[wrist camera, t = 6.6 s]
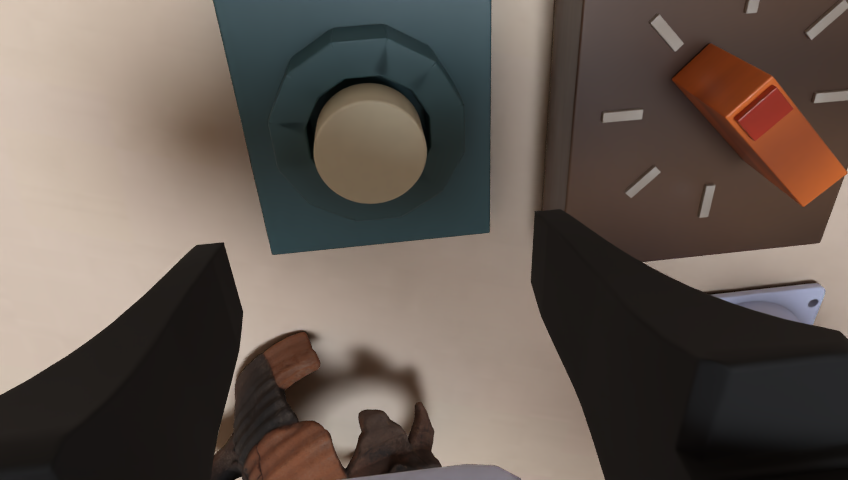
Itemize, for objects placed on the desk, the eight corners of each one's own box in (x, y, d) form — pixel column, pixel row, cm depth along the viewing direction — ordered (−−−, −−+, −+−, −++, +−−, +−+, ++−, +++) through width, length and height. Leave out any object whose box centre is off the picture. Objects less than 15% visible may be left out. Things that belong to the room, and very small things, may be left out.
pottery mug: (347, 284, 28) (436, 442, 24) (399, 348, 36) (473, 474, 32) (117, 429, 27) (167, 619, 23) (224, 461, 35) (276, 605, 31)
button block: (484, 218, 26) (498, 257, 24) (274, 239, 26) (266, 282, 23) (485, -64, 20) (504, -52, 18) (210, -44, 20) (190, -29, 17)
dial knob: (781, 129, 22) (854, 176, 19) (743, 161, 22) (808, 211, 19) (710, 42, 20) (778, 78, 17) (670, 79, 20) (729, 120, 17)
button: (424, 175, 22) (429, 199, 20) (324, 185, 21) (322, 210, 20) (418, 77, 20) (424, 95, 18) (308, 86, 20) (305, 106, 18)
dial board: (777, 207, 27) (823, 246, 25) (540, 232, 27) (561, 273, 24) (880, -127, 20) (960, -123, 18) (560, -104, 20) (593, -97, 17)
